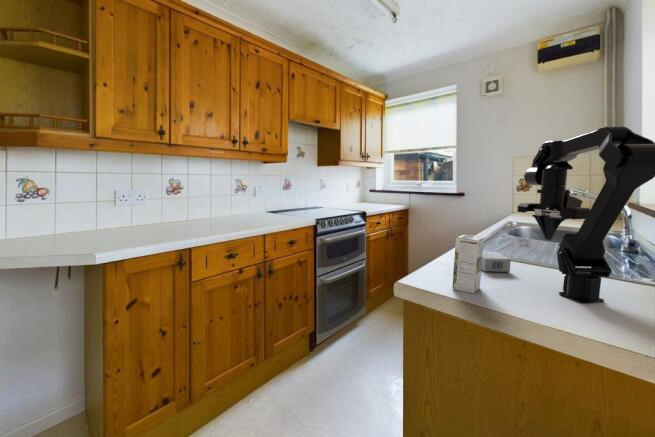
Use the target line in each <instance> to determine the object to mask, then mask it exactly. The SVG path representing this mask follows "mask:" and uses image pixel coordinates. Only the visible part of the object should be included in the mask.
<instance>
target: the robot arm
mask: <svg viewBox="0 0 655 437" xmlns="http://www.w3.org/2000/svg"><path fill="white" fill-rule="evenodd" d="M538 149H539V150H537V151H538V152H537V153H536V155H535V156H534V158H533V159H532V163H531V167H530V168H528V169H527V170H526V171H525V173H524V174H523V178H524V181H525V183H526V184H527V185H531V186H540V189H537V190H536V193H537V194H540V195H539V196H540V197H539V203H538V202H537V203H536V202H521V203H519V204H518V205H517V210H516V211H517V213H525V214H526V213H527V212H534V214H532V215H531V216H532V218H534V220H535V221H536V222H537V224H538V226H539V229H540V230H541V232H542V234H543V237H544V239H545V240H547V241H549V240H552V238H554V235H555V234H556V231H557V229H558V228H559V226H560V225H561V224H562V223H563V222H564V221H565V220H583V222H582V224H581V225H580V227H579V230H578V231H577V232H576V233H573V232H571V233H570V232H569V233H565V234H564V235H563V237H562V240H561V242H560V243H559V244H558V250H557V252H556V257H557V265H558V270H559V272H561V274H562V275H564V276H563V286H562V291H559V292H558V295H561V296H562V297H566V298H567V299H570V300H573V301H575V302H578V303H580V304H584V305H585V304H593V303H595V304H596V303H602V302H605V299H604V298H600V293H601V284H602V277H603V278H610V276H611V273H612V269H611V266H610V265H609V263H608V262H607V259H606V258H605V253H606V247H605V244H604V240H605V238H606V236H607V235H608V233H610V232H609V231H610V230H611V229H612V227H613V226H614V224H615V223H616V220H617V219H618V217H619V216H620V214H621V212H622V211H623V209H624V208H625V206H626V205H627V203H628V201H629V199H630V198H631V197H632V195H633V194H634V192H635V191H636V189H637V188H640V187H642V186H643V185H644V184H646V183H647V182H650V181H651V180H653V179H654V178H655V141H653V140H652V139H650V138H647V137H645V136H642V135H641V134H638V133H636V132H634V131H632V129H631V128H629V127H626V126H624V125H623V126H621V125H620V126H618V125H617V126H602V127H600V128H598V129H596V130H593V131H591V132H590V131H589V132H587V133H585V134H584V133H583V134H581V135H578V136H575V137H572V138H569V139H566V140H548V141H544V142H543V143H542V144H541V145H540V148H538ZM596 150H598V156H599V157H600V159H601V160H603V162H604V166H603V168H602V169H603V170H602V171H603V174H604V178H605V179H604V180H605V182H604V184H603V186H602V188H601V190H600V192H599V193H598V195H597V196H596V198H595V200H594V202H593V204H592V206H591V208H589V207H582V204H583V202H584V201H583V200H582V199H580V198H577V197H575V196H573V195H570V194H571V191H570V189H566V188H567V180H568V179H567V178H568V171H569V170H573V168H574V167H573V166H572V165H571V164H570V163H569V162H570V161H572V160H574V159H576V158H577V156H578V155H580V154H583V153H589V152H592V151H596Z"/></svg>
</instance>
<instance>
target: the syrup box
mask: <svg viewBox="0 0 655 437" xmlns="http://www.w3.org/2000/svg"><path fill="white" fill-rule="evenodd" d="M484 240H485V238H484V237H483V236H478V235H473V234H462V235H460V236H459V235H458V236H457V237H456V238H455V246H454V259H453V273H452V275H453V276H452V289H453V290H455V291H461V292H464V293H471V294H475V293H476V292H477V291H478V290H479V289H480V287H481V277H482V276H481V275H482V270H481V266H482V254H483V251H484Z"/></svg>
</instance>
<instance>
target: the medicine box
mask: <svg viewBox="0 0 655 437" xmlns="http://www.w3.org/2000/svg"><path fill="white" fill-rule="evenodd" d="M511 259H512V258H510V257H508V256H506V255H504V254H503V253H501V252H494V251H493V252H489V251H488V252H485V251H484V252H483V254H482V266H481V269H482V270H481V271H484V272H489V273H490V272H492V273H493V272H496V273H498V272H501V273H505V272H507V273H510V271H511V263H512V262H511V261H512V260H511Z"/></svg>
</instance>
